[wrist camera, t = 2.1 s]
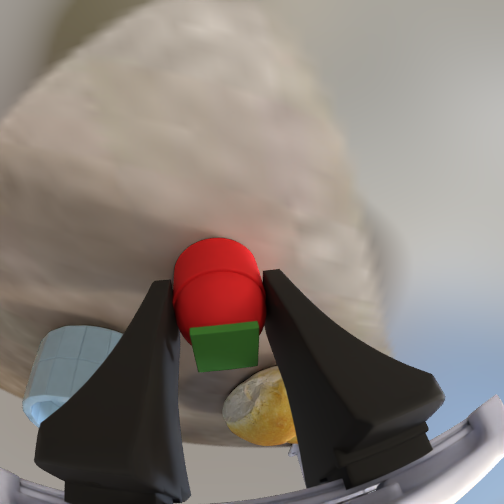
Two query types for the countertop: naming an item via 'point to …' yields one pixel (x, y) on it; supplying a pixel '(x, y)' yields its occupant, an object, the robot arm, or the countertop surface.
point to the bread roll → (261, 410)
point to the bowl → (65, 367)
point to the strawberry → (219, 304)
